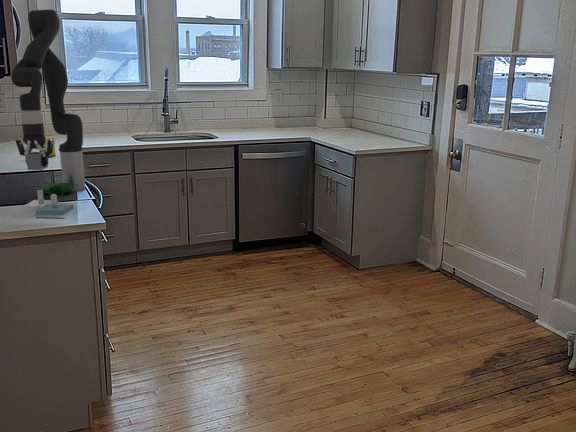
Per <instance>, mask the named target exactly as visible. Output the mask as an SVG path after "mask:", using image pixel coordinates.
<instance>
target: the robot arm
mask: <svg viewBox="0 0 576 432" xmlns="http://www.w3.org/2000/svg"><path fill="white" fill-rule="evenodd" d="M27 15H28V16H27V20H28V25H29V30H30V34H31V36H32V39H33V40H32V41H30V43H28V45H27V46H26V48H25V49H24V50H25V51H24V54H23V55H22V58H21V59H20V60H19V61H18V63H17V64H16V65H15V66H14V67H13V69H12V71H11V74H10V76H11V82H12V84H13V85H14V86H16V87H17V88H31V89H30V91H29V92H27V93H22V94H20V96H19V106H20V118H21V119H20V122H21V129H22V135H23V137H22V138H19V139H16V140H15V144H16V147H17V150H18V153H19V155H20V156H23V157H25V163H26V165H27V158H26V154H29V153H31V152H33V150H34V149H35V150H37V151H38V152H41V154H42V156H43V157H42V159H43V166H44V167H46V166H47V165H48V166H49V157H48V155H51V154H52V153H53V139H46V138H45V137H46V135H45V125H44V118H43V112H42V106H41V90H42V86H43V81H44V84H45V88H46V95H47V97H48V98H47V99H48V103H49V111H50V115H51V116H50V117H51V124H52V127H53V129H54V132H55V133H57V134H58V135H62V136H63V135H64V136H66V140H65V142H63V143H60V144H59V147H58V148H59V158H60V169H61V177H62V178H61V179H62V183H71V185H72V192H81V191H84V190H86V180H85V179H86V178H85V177H86V176H85V168H84V158H83V157H84V156H83V144H84V136H83V134H84V133H83V132H84V131H83V129H84V128H83V121H82V118H81V117H80V115H78V114H76V113H70V112H69V113H66V109H65V104H64V99H65V94H66V92H67V88H68V85H69V84H68V83H69V81H68V73H67V70H66V66H65V64H64V62H63V61H62V60H61V59H60V57H59V56H58V55H57V54H56V53H55V51H53V50H52V48H51V47H50V46H52V44H53V42H54V40H55V39H56V36H57V35H58V33H59V32H60V29H61V19H60V15H59V14H58V12H57V11H56V10H54V9H35V10H34V9H33V10H30V11H29V12H28V14H27ZM45 142H46V144H47V151H46V148H45V146H44V143H45ZM24 144H25V145H26V147H25V146H24Z"/></svg>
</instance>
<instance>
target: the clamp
mask: <svg viewBox="0 0 576 432" xmlns="http://www.w3.org/2000/svg"><path fill="white" fill-rule="evenodd" d="M40 190H43V195H46V194H48V197H51V195H52V194H56V195H60V196H64V195H65V194H72V193H73V191H72V185H71V183H63V182H49V183H47V182H46V183H42V186H41V188H40Z"/></svg>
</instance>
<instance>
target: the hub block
mask: <svg viewBox="0 0 576 432" xmlns="http://www.w3.org/2000/svg"><path fill="white" fill-rule="evenodd" d="M57 195H58V194H52V195H51V196H50V200H51V204H46V205H44V206H42V207H39V208H37V209H36V210H35V215H41V216H37V217H35V218H36V219H46V220H47V219H49V220H50V219H51V220H52V219H53V220H55V219H57V220H59V219H60V220H63V219H65V217H48V216H51V215H52V216H53V215H54V216H64V215H65V214H67V213H68V212H70V211H72V210H73V209H74V208H75V207H74V203H58V201H57V200H58V196H57ZM42 215H43V216H44V217H43V216H42ZM45 215H46V216H47V217H46V216H45Z"/></svg>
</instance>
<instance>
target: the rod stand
mask: <svg viewBox="0 0 576 432" xmlns="http://www.w3.org/2000/svg"><path fill="white" fill-rule="evenodd" d="M36 192H37V199H34V200H32V201H30V202H28V203H26V204H24V205H23V207H39V208H41V207H42V206H44V205H46V204H51V199H44V193H43V190H41V189H38V190H36ZM59 201H60V200H58V199H57V202H59Z"/></svg>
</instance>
